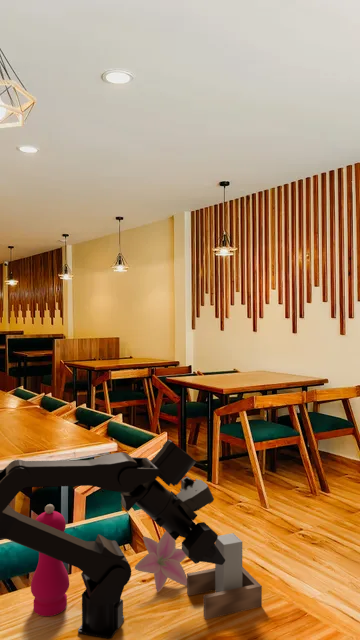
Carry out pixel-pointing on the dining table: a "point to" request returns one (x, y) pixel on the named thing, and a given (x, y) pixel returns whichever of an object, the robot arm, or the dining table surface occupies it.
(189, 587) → the bay
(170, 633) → the dining table surface
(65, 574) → the pepper mill
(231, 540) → the tall grey pillar block
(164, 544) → the lily
